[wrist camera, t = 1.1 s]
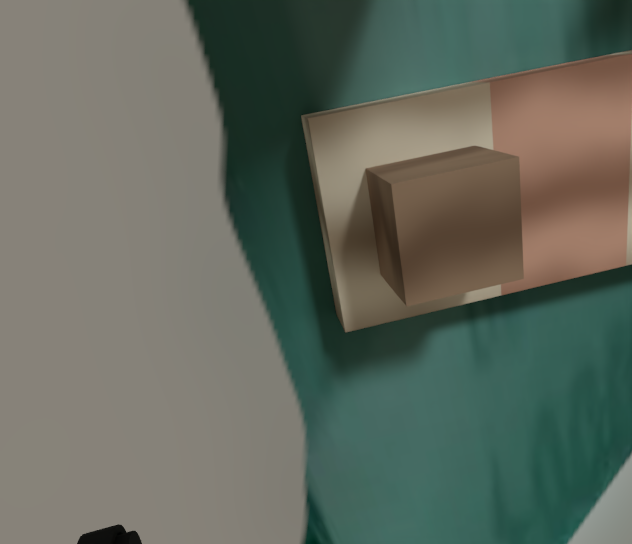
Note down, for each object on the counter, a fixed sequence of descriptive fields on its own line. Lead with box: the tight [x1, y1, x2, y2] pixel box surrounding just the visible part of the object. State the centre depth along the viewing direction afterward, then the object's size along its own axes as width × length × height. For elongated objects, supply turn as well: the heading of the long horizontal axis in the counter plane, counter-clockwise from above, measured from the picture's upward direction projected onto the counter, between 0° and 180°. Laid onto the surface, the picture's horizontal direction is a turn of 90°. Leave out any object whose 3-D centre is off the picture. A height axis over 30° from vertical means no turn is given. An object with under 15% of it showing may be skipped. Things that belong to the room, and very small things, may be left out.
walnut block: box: [365, 146, 524, 307], centre depth 27 cm, size 6×6×4 cm
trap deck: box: [301, 50, 632, 333], centre depth 31 cm, size 12×27×2 cm, turn 101°
